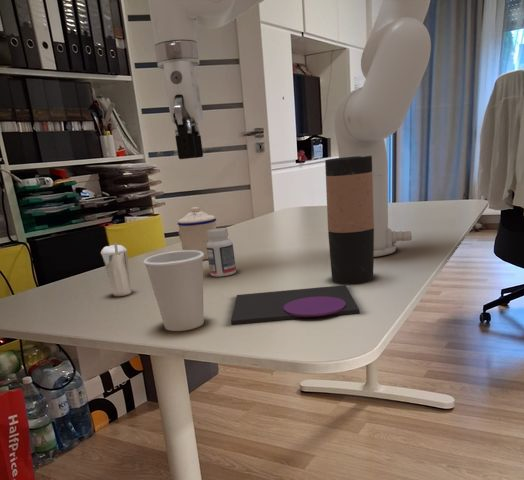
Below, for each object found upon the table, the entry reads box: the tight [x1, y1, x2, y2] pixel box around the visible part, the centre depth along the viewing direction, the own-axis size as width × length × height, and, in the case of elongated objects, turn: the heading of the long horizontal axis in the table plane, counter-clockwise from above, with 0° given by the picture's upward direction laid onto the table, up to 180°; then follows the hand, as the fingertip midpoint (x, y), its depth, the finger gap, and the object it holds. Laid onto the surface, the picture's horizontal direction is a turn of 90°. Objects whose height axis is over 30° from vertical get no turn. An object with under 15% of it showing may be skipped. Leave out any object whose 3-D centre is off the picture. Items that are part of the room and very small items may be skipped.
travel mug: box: [324, 156, 375, 285], centre depth 88 cm, size 8×8×20 cm
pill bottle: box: [206, 227, 237, 278], centre depth 104 cm, size 5×5×9 cm
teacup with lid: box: [177, 206, 217, 261], centre depth 124 cm, size 12×9×12 cm
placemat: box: [230, 284, 360, 325], centre depth 79 cm, size 18×16×1 cm
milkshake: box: [100, 241, 132, 297], centre depth 95 cm, size 4×5×10 cm
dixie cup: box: [143, 250, 205, 332], centre depth 74 cm, size 8×8×10 cm
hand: (191, 158), depth 99 cm, fingers open, 9 cm apart
